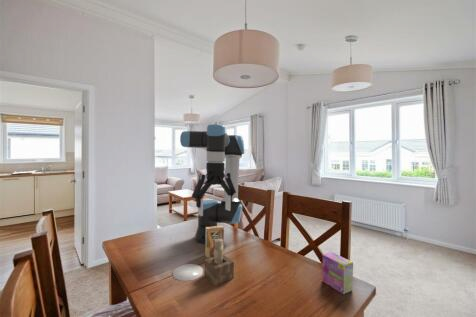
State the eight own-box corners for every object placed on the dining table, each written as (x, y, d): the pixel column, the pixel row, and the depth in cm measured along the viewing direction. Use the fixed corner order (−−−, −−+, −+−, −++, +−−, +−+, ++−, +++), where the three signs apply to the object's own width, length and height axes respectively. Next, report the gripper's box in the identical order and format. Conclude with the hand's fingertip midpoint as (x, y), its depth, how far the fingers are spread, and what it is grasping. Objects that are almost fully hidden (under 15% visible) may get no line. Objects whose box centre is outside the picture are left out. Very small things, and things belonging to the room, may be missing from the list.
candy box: (221, 253, 119) (221, 225, 118) (223, 257, 115) (224, 227, 114) (204, 255, 116) (205, 226, 115) (206, 259, 112) (207, 229, 111)
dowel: (219, 273, 98) (219, 237, 97) (223, 277, 95) (224, 240, 95) (212, 276, 96) (213, 239, 95) (216, 280, 93) (217, 242, 92)
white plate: (194, 263, 108) (194, 261, 108) (208, 276, 98) (208, 273, 98) (168, 272, 100) (168, 269, 100) (180, 287, 90) (180, 284, 90)
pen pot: (221, 270, 102) (222, 253, 102) (233, 280, 95) (234, 261, 95) (204, 277, 97) (204, 259, 96) (215, 288, 90) (216, 268, 89)
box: (321, 281, 96) (322, 254, 95) (330, 277, 99) (331, 251, 98) (343, 295, 87) (344, 265, 86) (352, 290, 90) (353, 262, 89)
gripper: (234, 161, 104) (233, 206, 105) (183, 162, 89) (183, 215, 90) (244, 161, 98) (243, 209, 99) (192, 163, 83) (191, 220, 84)
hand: (214, 212), depth 94 cm, fingers open, 13 cm apart
